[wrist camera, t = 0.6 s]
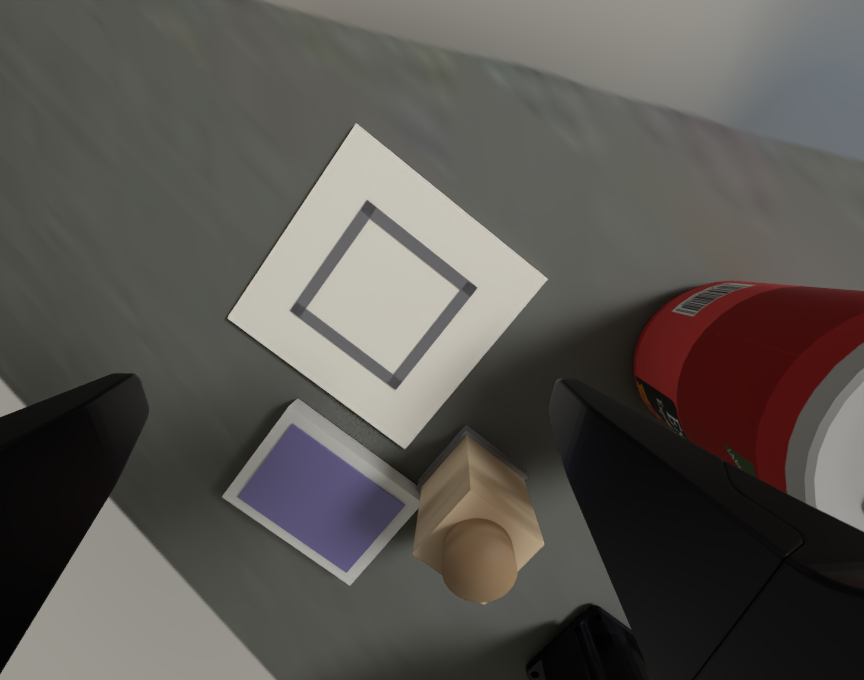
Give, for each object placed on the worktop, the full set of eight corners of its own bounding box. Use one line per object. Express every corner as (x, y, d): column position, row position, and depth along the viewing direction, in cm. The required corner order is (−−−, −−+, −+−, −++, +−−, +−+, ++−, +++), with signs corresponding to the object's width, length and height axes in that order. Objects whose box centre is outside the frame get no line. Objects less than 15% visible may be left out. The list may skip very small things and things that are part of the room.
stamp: (526, 470, 23) (558, 565, 16) (477, 522, 24) (487, 635, 17) (465, 424, 22) (471, 500, 15) (418, 479, 23) (402, 576, 16)
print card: (546, 278, 21) (548, 279, 20) (405, 446, 23) (404, 450, 22) (357, 125, 20) (355, 122, 19) (229, 317, 22) (226, 318, 21)
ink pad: (424, 490, 23) (422, 504, 22) (354, 570, 25) (349, 587, 23) (297, 398, 23) (287, 406, 21) (233, 485, 24) (220, 498, 23)
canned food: (602, 397, 22) (749, 535, 11) (672, 255, 20) (926, 254, 9) (732, 447, 22) (1002, 631, 11) (813, 310, 20) (1221, 371, 9)
